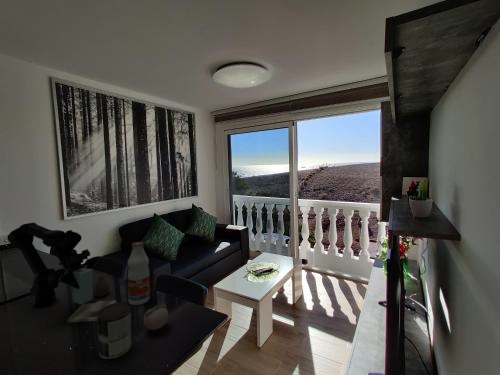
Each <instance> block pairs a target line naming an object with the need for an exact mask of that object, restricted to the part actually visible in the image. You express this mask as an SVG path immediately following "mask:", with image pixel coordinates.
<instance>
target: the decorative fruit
mask: <svg viewBox="0 0 500 375" xmlns="http://www.w3.org/2000/svg"><path fill="white" fill-rule="evenodd" d="M167 307H168V306H167V305H166V304H160V305H157V304H156V305H155V306H153V308H149V309H148V310H147V311H145V313H144V316H143V324H144V326H145V327H146V328H147V329H148V330H150V331H157V330H159V329H161V328H163V327H164V326H165V325H166V323H167V322H168V319H169V311H168V310H167Z"/></svg>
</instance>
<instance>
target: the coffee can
mask: <svg viewBox="0 0 500 375" xmlns="http://www.w3.org/2000/svg"><path fill="white" fill-rule="evenodd" d="M131 307H132V305H131V304H130V303H129V302H118V303H114V304H110V305H108V306H105V307H104V308H102V309H101V310H100V311H99V312H98V314H97V318H98V321H97V330H98V331H97V332H98V333H97V334H98V355H99V357H100V358H101V359H105V360H111V359H117V358H119V357H121V356H123V355H125V354H126V353H127V352H129V350H130V349H131V347H132V327H131V326H132V325H131V323H132V318H131V311H132V308H131Z"/></svg>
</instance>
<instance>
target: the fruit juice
mask: <svg viewBox="0 0 500 375" xmlns="http://www.w3.org/2000/svg"><path fill="white" fill-rule="evenodd" d="M144 245H145V244H144V242H143V241H136V242H132V244H131V247H132V250H131V252H130V255H129V258H128V259H127V267H128V270H127V297H128V298H127V299H128V300H127V301H128V304H129V305H130V306H139V305H140V306H141V305H144V304H145V303H148V302H149V300H150V297H151V296H150V295H151V294H150V293H151V292H150V288H151V287H150V268H149V267H148V266H149V262H150V261H149V257H148V255H147V253H146V251H145V249H144Z"/></svg>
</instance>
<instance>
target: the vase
mask: <svg viewBox="0 0 500 375" xmlns="http://www.w3.org/2000/svg"><path fill="white" fill-rule="evenodd" d="M110 287H111V286H110V283H109V281H108V280H107V279H106V278H105V276H100V277H98V279H97V280H96V281H95V283H94V284H93V295H95V296H96V297H98V298H101V297H104V296H106V295H107V294H108V293H109V291H110Z"/></svg>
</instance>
